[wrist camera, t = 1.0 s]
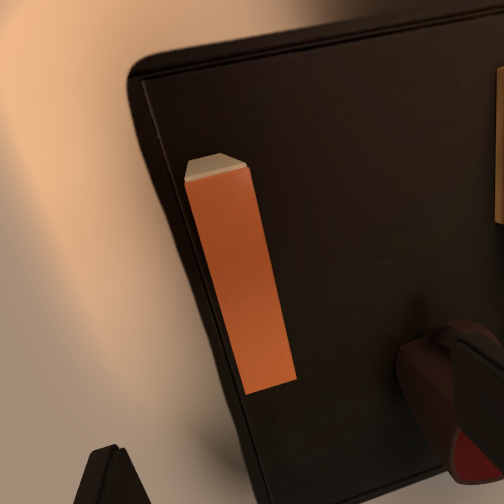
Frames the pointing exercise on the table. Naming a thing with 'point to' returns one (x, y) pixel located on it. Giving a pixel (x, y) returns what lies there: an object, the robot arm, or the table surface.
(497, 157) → the book rack
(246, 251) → the book
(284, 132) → the table surface
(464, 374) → the robot arm
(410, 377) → the cup
